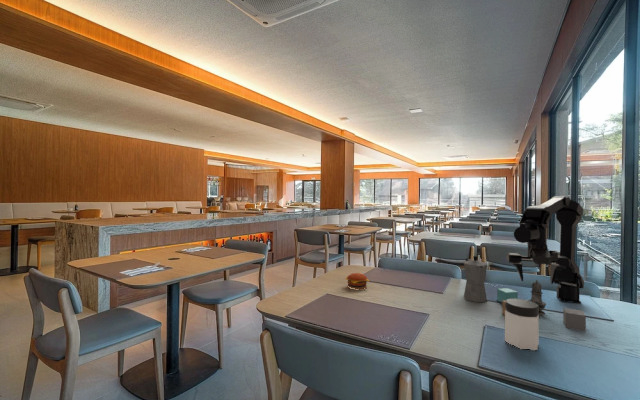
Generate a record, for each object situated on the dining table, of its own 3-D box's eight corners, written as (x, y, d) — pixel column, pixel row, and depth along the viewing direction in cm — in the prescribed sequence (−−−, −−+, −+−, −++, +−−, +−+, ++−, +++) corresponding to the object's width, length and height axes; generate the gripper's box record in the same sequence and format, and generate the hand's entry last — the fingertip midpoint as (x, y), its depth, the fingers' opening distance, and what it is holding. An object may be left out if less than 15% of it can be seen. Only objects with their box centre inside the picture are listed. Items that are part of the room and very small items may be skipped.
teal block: (508, 300, 125) (508, 288, 125) (517, 304, 120) (517, 291, 120) (497, 300, 125) (497, 288, 124) (506, 304, 120) (506, 292, 120)
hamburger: (343, 286, 145) (343, 272, 145) (360, 283, 149) (360, 270, 149) (354, 291, 136) (354, 277, 136) (371, 288, 141) (371, 274, 141)
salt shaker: (549, 315, 108) (549, 282, 108) (531, 314, 110) (531, 281, 110) (541, 309, 114) (541, 278, 114) (523, 308, 115) (524, 277, 115)
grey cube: (582, 325, 100) (582, 310, 100) (585, 331, 96) (585, 315, 96) (563, 322, 103) (563, 307, 103) (565, 327, 99) (565, 312, 99)
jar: (507, 334, 94) (507, 296, 94) (539, 342, 89) (540, 301, 89) (502, 344, 88) (502, 304, 87) (537, 354, 82) (537, 310, 82)
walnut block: (516, 314, 110) (516, 300, 110) (524, 320, 105) (524, 305, 105) (502, 313, 111) (502, 300, 111) (509, 319, 106) (509, 305, 106)
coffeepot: (494, 304, 120) (494, 259, 120) (470, 304, 120) (470, 259, 120) (477, 292, 135) (477, 252, 135) (455, 291, 136) (455, 252, 136)
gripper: (512, 242, 108) (512, 285, 108) (577, 245, 101) (577, 291, 101) (506, 238, 118) (506, 277, 118) (564, 240, 111) (564, 282, 111)
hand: (536, 282), depth 112 cm, fingers open, 9 cm apart
